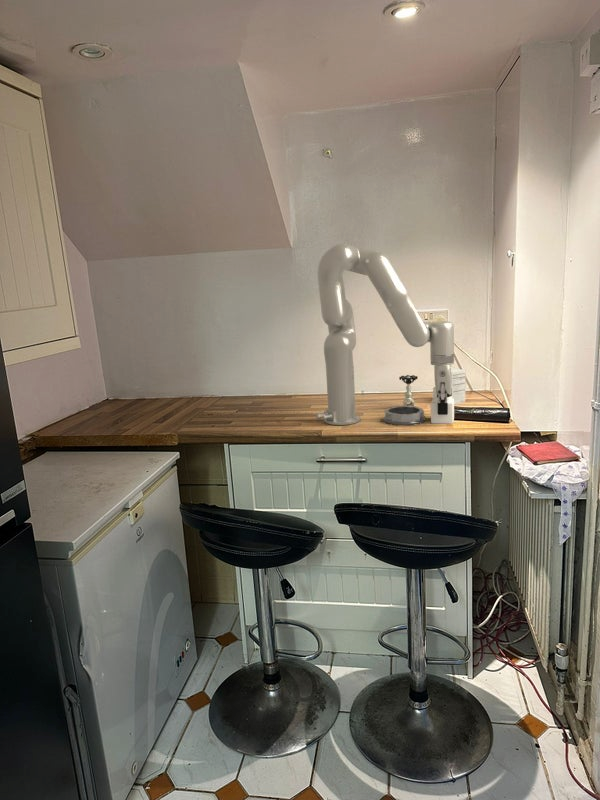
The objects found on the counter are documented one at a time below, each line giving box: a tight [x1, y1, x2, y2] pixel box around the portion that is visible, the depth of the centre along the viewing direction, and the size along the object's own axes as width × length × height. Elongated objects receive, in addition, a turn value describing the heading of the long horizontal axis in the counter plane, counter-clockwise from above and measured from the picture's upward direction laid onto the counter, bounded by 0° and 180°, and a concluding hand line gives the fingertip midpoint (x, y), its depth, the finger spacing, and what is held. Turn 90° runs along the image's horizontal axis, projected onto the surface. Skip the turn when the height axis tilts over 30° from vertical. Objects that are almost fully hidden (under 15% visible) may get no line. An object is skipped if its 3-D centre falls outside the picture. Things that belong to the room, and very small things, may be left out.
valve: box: [399, 374, 418, 407], centre depth 213 cm, size 7×7×12 cm
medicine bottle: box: [430, 385, 455, 425], centre depth 192 cm, size 7×7×12 cm
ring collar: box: [383, 405, 426, 426], centre depth 197 cm, size 14×14×4 cm
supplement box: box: [451, 367, 467, 406], centre depth 218 cm, size 7×7×13 cm
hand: (442, 411), depth 193 cm, fingers closed on medicine bottle, 7 cm apart
